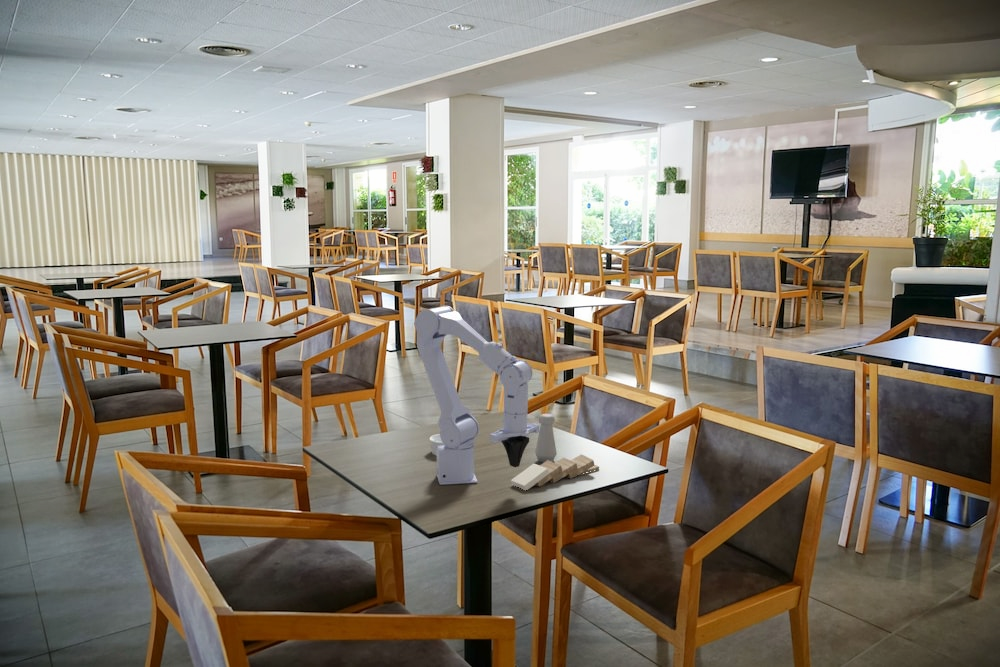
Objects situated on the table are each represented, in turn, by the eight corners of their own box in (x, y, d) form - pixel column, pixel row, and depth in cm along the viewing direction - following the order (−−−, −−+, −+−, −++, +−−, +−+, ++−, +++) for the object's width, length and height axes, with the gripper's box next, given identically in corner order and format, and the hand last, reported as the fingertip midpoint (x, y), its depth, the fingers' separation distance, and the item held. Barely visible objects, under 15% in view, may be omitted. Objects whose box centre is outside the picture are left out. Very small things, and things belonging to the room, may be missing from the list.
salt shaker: (538, 465, 206) (539, 418, 204) (532, 458, 212) (533, 412, 209) (559, 463, 208) (560, 416, 206) (552, 457, 213) (553, 411, 211)
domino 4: (577, 472, 198) (599, 466, 203) (563, 467, 202) (585, 461, 207) (577, 478, 198) (598, 472, 203) (563, 473, 202) (585, 467, 207)
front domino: (524, 485, 187) (547, 468, 191) (511, 480, 190) (533, 463, 195) (525, 491, 187) (548, 473, 191) (512, 485, 191) (535, 468, 195)
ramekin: (460, 458, 212) (460, 442, 211) (427, 457, 212) (427, 442, 211) (462, 448, 221) (462, 433, 220) (431, 447, 221) (431, 433, 220)
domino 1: (538, 481, 189) (560, 465, 194) (525, 476, 193) (547, 460, 197) (539, 487, 190) (562, 470, 194) (526, 481, 194) (549, 465, 198)
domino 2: (552, 477, 192) (576, 462, 196) (540, 471, 196) (563, 457, 200) (553, 483, 193) (577, 468, 197) (541, 477, 197) (565, 462, 201)
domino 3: (569, 473, 195) (593, 460, 199) (557, 467, 199) (581, 454, 203) (570, 479, 196) (594, 465, 199) (558, 472, 200) (582, 459, 204)
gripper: (504, 420, 177) (503, 476, 179) (548, 410, 187) (547, 463, 189) (484, 413, 182) (483, 468, 184) (528, 404, 192) (527, 456, 194)
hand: (514, 465), depth 187 cm, fingers closed
